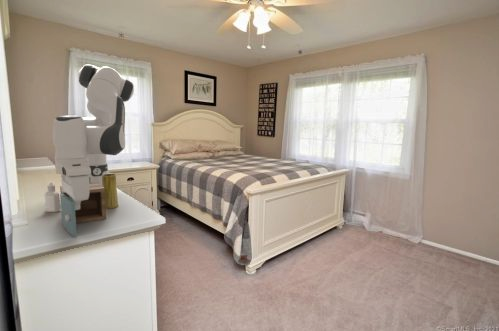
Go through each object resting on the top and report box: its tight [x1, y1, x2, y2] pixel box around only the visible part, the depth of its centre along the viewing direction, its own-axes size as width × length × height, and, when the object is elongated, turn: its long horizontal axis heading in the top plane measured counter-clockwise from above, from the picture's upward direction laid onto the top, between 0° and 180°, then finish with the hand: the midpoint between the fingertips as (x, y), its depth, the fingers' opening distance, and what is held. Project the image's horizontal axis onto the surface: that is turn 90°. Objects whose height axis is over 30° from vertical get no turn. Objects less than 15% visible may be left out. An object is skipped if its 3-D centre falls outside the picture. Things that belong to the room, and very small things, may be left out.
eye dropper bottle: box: [44, 181, 61, 213], centre depth 107 cm, size 4×6×12 cm
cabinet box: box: [59, 183, 107, 225], centre depth 100 cm, size 12×13×12 cm
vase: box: [102, 173, 119, 210], centre depth 114 cm, size 6×6×14 cm
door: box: [59, 193, 78, 237], centre depth 86 cm, size 2×13×11 cm, turn 48°
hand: (75, 208), depth 86 cm, fingers closed
